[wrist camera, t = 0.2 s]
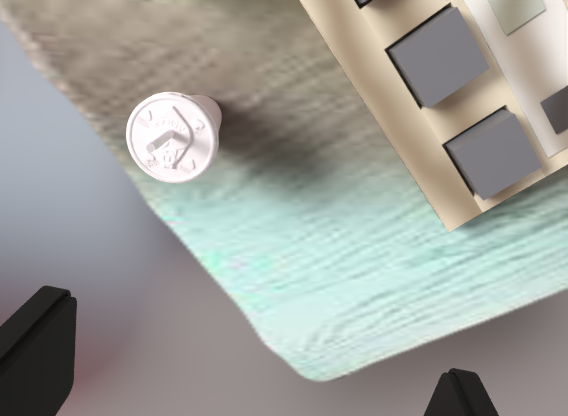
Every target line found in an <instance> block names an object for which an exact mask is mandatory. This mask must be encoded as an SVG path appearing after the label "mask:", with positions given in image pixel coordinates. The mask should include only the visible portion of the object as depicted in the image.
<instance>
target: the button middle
mask: <svg viewBox="0 0 568 416" xmlns="http://www.w3.org/2000/svg"><path fill="white" fill-rule="evenodd" d="M388 51H389V53H390V55H391V56H392V58H393V60H394V61H395V63H396V65H397V66H398V68H399V70H400V71H401V73H402V75H403V76H404V78H405V80H406V81H407V83H408V84H409V86H410V88H411V89H412V91H413V93H414V94H415V96H416V98H417V99H418V101H419V103H420V104H421V105H423V106H425V107H426V108H428V109H429V108H430V107H432V106H433V105H435V104H436V103H438V102H440V101H441V100H443V99H444V98H446V97H447V96H449V95H450V94H452V93H453V92H455V91H456V90H458V89H459V88H461V87H462V86H464V85H465V84H467V83H468V82H470V81H471V80H473V79H475V78H476V77H478V76H479V75H481V74H482V73H484V72H485V71H487V70H488V69H490V67H489V65H488V63H487V61H486V60H485V58H484V56H483V54H482V52H481V50H480V48H479V46H478V45H477V43H476V41H475V39H474V37H473V35H472V33H471V32H470V30H469V28H468V26H467V24H466V22H465V20H464V19H463V17H462V15H461V13H460V11H459V9H458V7H453V8H447V9H445V10H443V11H442V12H441V13H439V14H438V15H436V16H435V17H434V18H432V19H431V20H429V21H428V22H427V23H425V24H424V25H422V26H421V27H420V28H418V29H417V30H415V31H414V32H413V33H411V34H410V35H408V36H407V37H406V38H404V39H403V40H401V41H400V42H399V43H397V44H396V45H394V46H393V47H392V48H390V49H389V50H388Z"/></svg>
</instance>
